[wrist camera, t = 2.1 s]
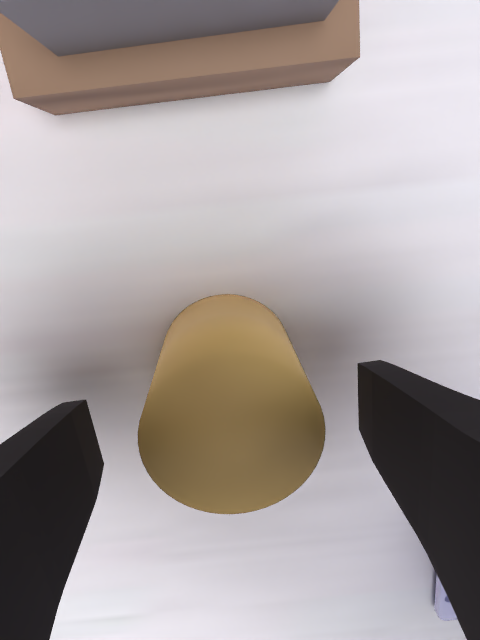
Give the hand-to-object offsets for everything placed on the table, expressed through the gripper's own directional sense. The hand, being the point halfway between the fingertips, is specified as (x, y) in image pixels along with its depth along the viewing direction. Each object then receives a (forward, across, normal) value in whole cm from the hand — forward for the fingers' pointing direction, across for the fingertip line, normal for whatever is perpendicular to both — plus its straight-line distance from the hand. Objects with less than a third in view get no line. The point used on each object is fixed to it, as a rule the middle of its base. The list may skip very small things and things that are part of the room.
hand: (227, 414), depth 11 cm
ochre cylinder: (+4, 0, 0) cm, 4 cm away
